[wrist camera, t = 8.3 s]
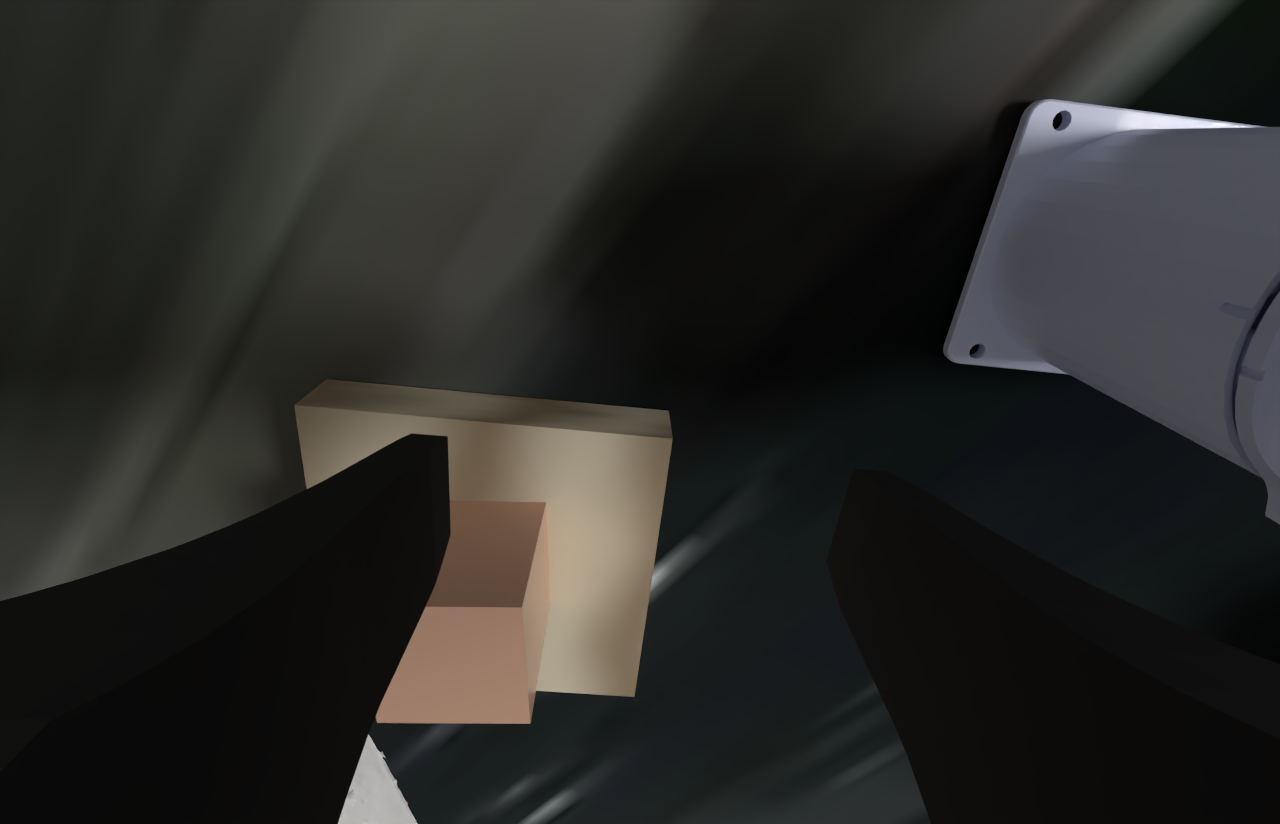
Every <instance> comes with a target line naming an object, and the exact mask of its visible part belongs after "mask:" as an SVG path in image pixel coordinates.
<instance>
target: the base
mask: <svg viewBox="0 0 1280 824" xmlns="http://www.w3.org/2000/svg"><path fill="white" fill-rule="evenodd" d="M294 408H295V415H296V421H297V428H298V435H299V441H300V448H301V455H302V461H303V468H304V475H305V481H306V488H307V489H308V488H310V487H312V486H314V485H316V484H318V483H320V482H322V481H324V480H326V479H328V478H329V477H331V476H333V475H335V474H337V473H339V472H340V471H342V470H344V469H346V468H348V467H349V466H351V465H353V464H355V463H357V462H358V461H360V460H362V459H364V458H366V457H367V456H369V455H371V454H373V453H375V452H376V451H378V450H380V449H382V448H383V447H385V446H387V445H389V444H391V443H393V442H395V441H396V440H398V439H400V438H402V437H404V436H407V435H409V434H411V433H413V434H425V435H438V436H448V460H449V494H450V501H499V502H546V512H547V534H548V557H549V579H550V602H551V604H550V610H549V616H548V622H547V628H546V634H545V640H544V645H543V651H542V657H541V663H540V669H539V675H538V681H537V687H536V691H550V692H566V693H582V694H598V695H615V696H631V697H634V695H635V689H636V682H637V675H638V669H639V662H640V655H641V648H642V642H643V635H644V628H645V621H646V615H647V608H648V601H649V595H650V588H651V581H652V574H653V568H654V561H655V554H656V547H657V541H658V534H659V527H660V521H661V514H662V507H663V500H664V494H665V487H666V480H667V473H668V467H669V460H670V453H671V447H672V440H673V438H672V431H671V424H670V417H669V411H667V410H656V409H645V408H634V407H624V406H613V405H602V404H591V403H580V402H569V401H558V400H548V399H537V398H526V397H515V396H504V395H493V394H483V393H472V392H461V391H450V390H439V389H428V388H417V387H407V386H396V385H385V384H374V383H363V382H352V381H341V380H331V379H326V380H325V381H324V382H322V383H321V384H320V385H319V386H317V387H316V388H315V389H314V390H312V391H311V392H310V393H309V394H307V395H306V396H305V397H304V398H302V399H301V400H300V401H299V402H297V403H296V404H295V405H294Z"/></svg>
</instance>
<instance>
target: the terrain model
mask: <svg viewBox="0 0 1280 824" xmlns="http://www.w3.org/2000/svg"><path fill="white" fill-rule="evenodd" d="M383 757H385V756H384V754H383V751H382V752H379V751H378V750H377V748H376V746H375V745H374V743H373V741H372V739H371V737H370V736H369V734H368V737H367V740H366V742H365V745H364V748H363V751H362V754H361V757H360V760H359V763H358V766H357V768H356V771H355V774H354V777H353V780H352V783H351V786H350V789H349V791H348V794H347V797H346V800H345V803H344V806H343V809H342V812H341V815H340V818H339V821H338V824H417V822H416V820H415V818H414V817H413V815H412V813H411V811H410V810H409V807H408V806H407V802H406V801H405V799H404V797H403V796H402V793H401V792H400V790H399V788H398V787H397V780H396V779H394V777H393V776H392V774H391V773H390V770H389V768H388V766H387V765H386V763H385V760H384V759H383ZM385 758H386V757H385Z"/></svg>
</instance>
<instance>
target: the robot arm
mask: <svg viewBox="0 0 1280 824" xmlns="http://www.w3.org/2000/svg"><path fill="white" fill-rule="evenodd" d="M1059 112H1060V113H1061V115H1062V123H1061V124H1060V126H1059V127H1058V128H1057V129H1054V127H1053V125H1052V124H1053V119H1054V117H1055V116H1056V114H1058V113H1059ZM976 344H979V349H978V350H977V352H975V353H974V354H971V355H969V354H970V349H971V348H972V347H973V346H974V345H976ZM943 352H944V355H945V356H946V357H947V358H948V359H949V360H951V361H952V362H955V363H960V364H970V365H980V366H990V367H1000V368H1010V369H1020V370H1030V371H1040V372H1050V373H1060V374H1069V375H1071V376H1073V377H1075V378H1077V379H1079V380H1081V381H1082V382H1084V383H1086V384H1088V385H1090V386H1092V387H1094V388H1095V389H1097V390H1099V391H1101V392H1103V393H1105V394H1107V395H1108V396H1110V397H1112V398H1114V399H1116V400H1118V401H1120V402H1122V403H1123V404H1125V405H1127V406H1129V407H1131V408H1133V409H1135V410H1136V411H1138V412H1140V413H1142V414H1144V415H1146V416H1148V417H1149V418H1151V419H1153V420H1155V421H1157V422H1159V423H1161V424H1163V425H1164V426H1166V427H1168V428H1170V429H1172V430H1174V431H1176V432H1177V433H1179V434H1181V435H1183V436H1185V437H1187V438H1189V439H1190V440H1192V441H1194V442H1196V443H1198V444H1200V445H1202V446H1204V447H1205V448H1207V449H1209V450H1211V451H1213V452H1215V453H1217V454H1218V455H1220V456H1222V457H1224V458H1226V459H1228V460H1230V461H1231V462H1233V463H1235V464H1237V465H1239V466H1241V467H1243V468H1245V469H1246V470H1248V471H1250V472H1252V473H1254V474H1256V475H1258V476H1259V477H1261V478H1263V479H1264V480H1265V483H1266V486H1267V489H1268V503H1267V507H1266V516H1267V517H1268V518H1270V519H1272V520H1273V521H1275V522H1277V523H1278V524H1280V127H1262V126H1255V125H1247V124H1239V123H1232V122H1224V121H1216V120H1208V119H1201V118H1193V117H1185V116H1178V115H1170V114H1162V113H1154V112H1147V111H1139V110H1131V109H1124V108H1116V107H1108V106H1100V105H1093V104H1085V103H1077V102H1070V101H1062V100H1054V99H1047V100H1037V101H1036V102H1034V103H1032V104H1030V105H1029V106H1028V107H1027V108H1026V109H1025V111H1024V113H1023V115H1022V117H1021V120H1020V122H1019V125H1018V128H1017V131H1016V134H1015V137H1014V140H1013V143H1012V146H1011V149H1010V152H1009V155H1008V158H1007V161H1006V164H1005V167H1004V170H1003V172H1002V175H1001V178H1000V181H999V184H998V187H997V190H996V193H995V196H994V199H993V202H992V205H991V208H990V211H989V214H988V217H987V220H986V222H985V225H984V228H983V231H982V234H981V237H980V240H979V243H978V246H977V249H976V252H975V255H974V258H973V261H972V264H971V267H970V270H969V272H968V275H967V278H966V281H965V284H964V287H963V290H962V293H961V296H960V299H959V302H958V305H957V308H956V311H955V314H954V317H953V320H952V322H951V325H950V328H949V331H948V334H947V337H946V340H945V343H944V347H943ZM450 535H451V527H450V494H449V460H448V436H438V435H425V434H413V433H411V434H409V435H407V436H404V437H402V438H400V439H398V440H396V441H395V442H393V443H391V444H389V445H387V446H385V447H383V448H382V449H380V450H378V451H376V452H375V453H373V454H371V455H369V456H367V457H366V458H364V459H362V460H360V461H358V462H357V463H355V464H353V465H351V466H349V467H348V468H346V469H344V470H342V471H340V472H339V473H337V474H335V475H333V476H331V477H329V478H328V479H326V480H324V481H322V482H320V483H318V484H316V485H314V486H312V487H310V488H308V489H306V490H304V491H302V492H300V493H298V494H296V495H294V496H292V497H290V498H288V499H286V500H284V501H282V502H280V503H278V504H276V505H274V506H272V507H270V508H268V509H266V510H264V511H262V512H259V513H257V514H255V515H253V516H251V517H248V518H246V519H244V520H241V521H239V522H237V523H235V524H232V525H230V526H228V527H225V528H223V529H220V530H218V531H215V532H213V533H210V534H208V535H205V536H202V537H200V538H197V539H195V540H192V541H190V542H187V543H185V544H182V545H179V546H177V547H174V548H171V549H168V550H165V551H162V552H159V553H156V554H153V555H150V556H147V557H144V558H141V559H138V560H135V561H132V562H129V563H126V564H123V565H120V566H117V567H114V568H111V569H108V570H105V571H103V572H100V573H97V574H94V575H91V576H88V577H84V578H81V579H78V580H74V581H71V582H68V583H64V584H61V585H57V586H54V587H50V588H47V589H43V590H40V591H36V592H33V593H29V594H26V595H22V596H18V597H14V598H11V599H7V600H3V601H0V824H338V821H339V818H340V815H341V812H342V809H343V806H344V803H345V800H346V797H347V794H348V791H349V789H350V786H351V783H352V780H353V777H354V774H355V771H356V768H357V766H358V763H359V760H360V757H361V754H362V751H363V748H364V745H365V742H366V740H367V737H368V734H369V731H370V729H371V726H372V724H373V721H374V719H375V717H376V714H377V712H378V709H379V707H380V704H381V702H382V700H383V698H384V695H385V693H386V691H387V689H388V687H389V685H390V683H391V680H392V678H393V676H394V674H395V672H396V670H397V667H398V665H399V663H400V661H401V659H402V657H403V655H404V652H405V650H406V648H407V646H408V644H409V642H410V639H411V637H412V635H413V633H414V631H415V629H416V627H417V624H418V622H419V620H420V618H421V616H422V613H423V611H424V609H425V607H426V605H427V602H428V600H429V598H430V596H431V594H432V591H433V589H434V587H435V585H436V581H437V578H438V575H439V572H440V569H441V566H442V563H443V559H444V556H445V552H446V549H447V546H448V542H449V539H450ZM827 564H828V567H829V571H830V574H831V578H832V582H833V585H834V589H835V592H836V595H837V598H838V601H839V604H840V607H841V610H842V612H843V615H844V617H845V619H846V622H847V624H848V626H849V628H850V630H851V633H852V635H853V637H854V639H855V641H856V644H857V646H858V648H859V650H860V652H861V654H862V656H863V659H864V661H865V663H866V665H867V667H868V669H869V671H870V674H871V676H872V678H873V680H874V682H875V684H876V686H877V688H878V691H879V693H880V695H881V697H882V699H883V701H884V703H885V706H886V708H887V710H888V712H889V714H890V716H891V718H892V720H893V723H894V725H895V727H896V729H897V732H898V734H899V737H900V739H901V741H902V744H903V746H904V749H905V751H906V753H907V756H908V759H909V762H910V764H911V767H912V770H913V773H914V776H915V779H916V781H917V784H918V787H919V790H920V793H921V796H922V799H923V801H924V804H925V807H926V810H927V813H928V816H929V819H930V822H931V824H1280V664H1278V663H1275V662H1273V661H1270V660H1267V659H1265V658H1262V657H1259V656H1257V655H1254V654H1251V653H1248V652H1246V651H1243V650H1241V649H1238V648H1235V647H1233V646H1230V645H1228V644H1225V643H1223V642H1221V641H1218V640H1216V639H1213V638H1211V637H1208V636H1206V635H1203V634H1201V633H1198V632H1196V631H1193V630H1191V629H1189V628H1186V627H1184V626H1181V625H1179V624H1176V623H1174V622H1172V621H1169V620H1167V619H1165V618H1162V617H1160V616H1158V615H1155V614H1153V613H1151V612H1148V611H1146V610H1144V609H1142V608H1140V607H1137V606H1135V605H1133V604H1131V603H1129V602H1127V601H1125V600H1123V599H1120V598H1118V597H1116V596H1114V595H1112V594H1110V593H1108V592H1106V591H1104V590H1101V589H1099V588H1097V587H1095V586H1093V585H1091V584H1089V583H1087V582H1085V581H1083V580H1081V579H1079V578H1077V577H1075V576H1073V575H1071V574H1069V573H1067V572H1065V571H1063V570H1061V569H1059V568H1058V567H1056V566H1054V565H1052V564H1050V563H1048V562H1047V561H1045V560H1043V559H1041V558H1039V557H1037V556H1035V555H1034V554H1032V553H1030V552H1028V551H1026V550H1024V549H1023V548H1021V547H1019V546H1017V545H1016V544H1014V543H1012V542H1010V541H1009V540H1007V539H1005V538H1003V537H1002V536H1000V535H998V534H996V533H995V532H993V531H991V530H990V529H988V528H986V527H985V526H983V525H981V524H979V523H978V522H976V521H974V520H973V519H971V518H969V517H968V516H966V515H964V514H963V513H961V512H959V511H958V510H956V509H954V508H953V507H951V506H949V505H948V504H946V503H944V502H943V501H941V500H939V499H938V498H936V497H934V496H933V495H931V494H929V493H927V492H926V491H924V490H922V489H920V488H919V487H917V486H915V485H913V484H912V483H910V482H908V481H906V480H904V479H902V478H900V477H898V476H896V475H894V474H891V473H889V472H887V471H875V470H863V469H853V473H852V476H851V480H850V483H849V486H848V490H847V493H846V496H845V500H844V503H843V506H842V510H841V513H840V516H839V520H838V523H837V526H836V530H835V533H834V537H833V540H832V543H831V547H830V550H829V553H828V557H827Z"/></svg>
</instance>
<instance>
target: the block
mask: <svg viewBox="0 0 1280 824" xmlns="http://www.w3.org/2000/svg"><path fill="white" fill-rule="evenodd" d="M450 527H451V535H450V539H449V542H448V546H447V549H446V552H445V556H444V559H443V563H442V566H441V569H440V572H439V575H438V578H437V581H436V585H435V587H434V589H433V591H432V594H431V596H430V598H429V600H428V602H427V605H426V607H425V609H424V611H423V613H422V616H421V618H420V620H419V622H418V624H417V627H416V629H415V631H414V633H413V635H412V637H411V639H410V642H409V644H408V646H407V648H406V650H405V652H404V655H403V657H402V659H401V661H400V663H399V665H398V667H397V670H396V672H395V674H394V676H393V678H392V680H391V683H390V685H389V687H388V689H387V691H386V693H385V695H384V698H383V700H382V702H381V704H380V707H379V709H378V712H377V714H376V719H377V723H503V724H530V722H531V717H532V711H533V705H534V699H535V693H536V687H537V681H538V675H539V669H540V663H541V657H542V651H543V645H544V640H545V634H546V628H547V622H548V616H549V610H550V604H551V602H550V579H549V557H548V534H547V512H546V502H499V501H450Z"/></svg>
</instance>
